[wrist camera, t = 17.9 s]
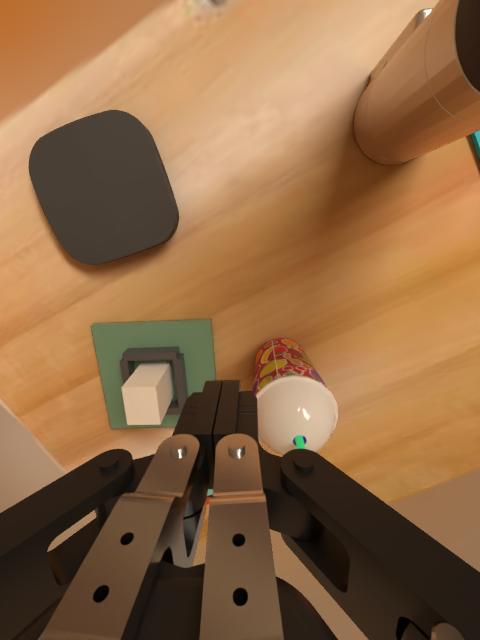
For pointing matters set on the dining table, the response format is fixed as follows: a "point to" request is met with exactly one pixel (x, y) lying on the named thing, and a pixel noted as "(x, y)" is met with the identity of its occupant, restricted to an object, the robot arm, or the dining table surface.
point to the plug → (148, 393)
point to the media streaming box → (104, 187)
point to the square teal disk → (476, 141)
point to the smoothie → (291, 399)
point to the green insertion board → (154, 360)
